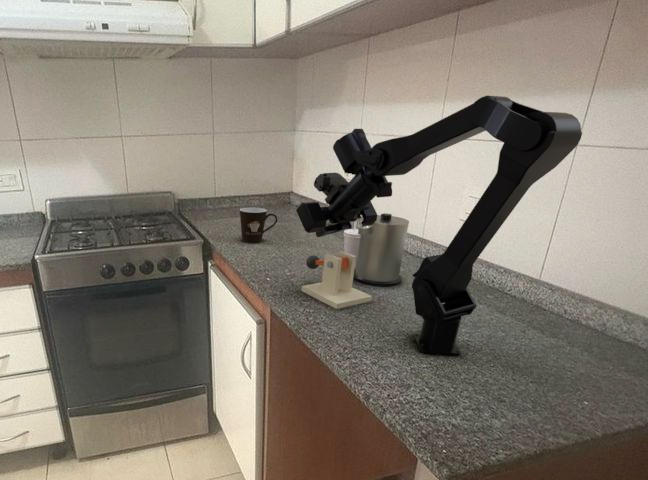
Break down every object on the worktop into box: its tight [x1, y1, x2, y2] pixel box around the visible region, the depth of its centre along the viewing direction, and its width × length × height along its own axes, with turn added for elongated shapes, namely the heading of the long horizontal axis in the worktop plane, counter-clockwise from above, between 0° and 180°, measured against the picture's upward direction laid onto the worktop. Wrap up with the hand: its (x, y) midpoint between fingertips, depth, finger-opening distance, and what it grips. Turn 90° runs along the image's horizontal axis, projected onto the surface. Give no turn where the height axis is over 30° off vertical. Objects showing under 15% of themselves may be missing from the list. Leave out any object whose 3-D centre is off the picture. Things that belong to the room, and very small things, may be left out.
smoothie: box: [342, 219, 361, 269], centre depth 117 cm, size 6×6×14 cm
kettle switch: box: [305, 254, 348, 270], centre depth 100 cm, size 12×3×3 cm, turn 29°
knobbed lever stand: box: [300, 251, 373, 310], centre depth 97 cm, size 12×10×10 cm
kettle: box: [353, 213, 410, 288], centre depth 107 cm, size 16×12×16 cm
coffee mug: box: [239, 207, 278, 244], centre depth 142 cm, size 12×9×10 cm
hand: (317, 235), depth 101 cm, fingers closed
